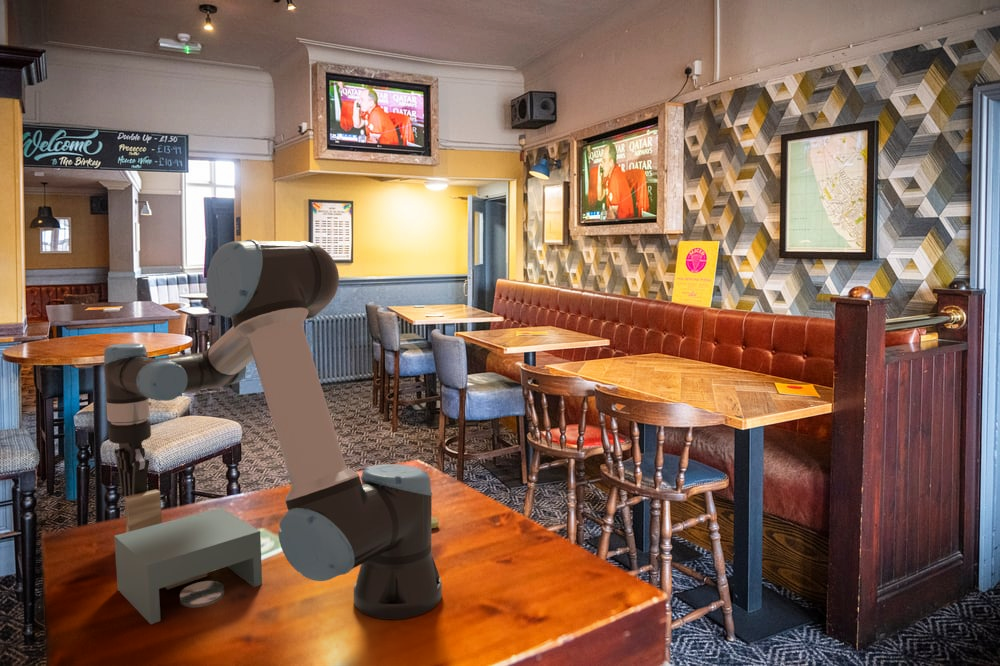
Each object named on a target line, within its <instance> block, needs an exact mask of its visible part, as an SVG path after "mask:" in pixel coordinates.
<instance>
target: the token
mask: <svg viewBox="0 0 1000 666" xmlns="http://www.w3.org/2000/svg"><path fill="white" fill-rule="evenodd" d="M224 596H225V586H224V584H223V583H222V582H220V581H217V580H216V581H215V580H205V581H200V582H194V583H192V584H190V585H188V586H186V587H183V588H182V590H181V591H180V594H179V601H180V605H182V606H183V607H186V608H203V607H208V606H211V605H214V604H216V603H217V602H219V601H221V600H222V599H223V597H224Z"/></svg>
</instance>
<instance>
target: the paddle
mask: <svg viewBox="0 0 1000 666" xmlns="http://www.w3.org/2000/svg"><path fill="white" fill-rule="evenodd" d="M123 497H124V496H123ZM124 499H125V500H124V511H125V524H126V525H125V527H126V531H125V532H130V531H134V530H137V529H141V528H145V527H149V526H153V525H156V524H160V523H163V522H162V520H163V519H162V518H163V517H162V504H161V502H162V500H161V491H160V490H158V489H156V488H155V489H151V490H147V492H143V493H138V494H134V495H130V496H125V497H124ZM206 577H208V573H205V574H202V575H199V576H196V577H193V578H190V579H187V580H184V581H181V582H178V583H175V584H172V585H169V586H166V587H164V588H165V589H166V590H170V589H174V588H176V587H179V586H183V585H185V584H188V583H191V582H194V581H197V580H200V579H203V578H206Z"/></svg>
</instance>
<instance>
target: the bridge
mask: <svg viewBox="0 0 1000 666" xmlns="http://www.w3.org/2000/svg"><path fill="white" fill-rule="evenodd" d="M113 537H114V551H115V552H114V554H115V568H116V569H115V570H116V581H117V582H116V584H117V591H118V592H119V591H120V592H119V593H121V595H122V596H123V597H124V598H125V599H126V600H127V601H128V602H129V603H130V604H131V606H133V608H135V610H136V611H137V612H138V613H139V614H140V615H141V616H142V617H143V619H145V620H146V621H147V623H149V624H150V625H153V624H157V623H158V622H161V606H160V589H162V588H165V587H166V586H169V585H172V584H175V583H178V582H181V581H184V580H187V579H190V578H193V577H196V576H199V575H202V574H205V573H207V574H208V573H211V572H213V571H217V570H221V569H223V568H228V569H229V570H231V571H232V572H234V574H236V575H237V576H238V577H240V578H242V579H243V580H244V581H246V582H247V583H248V584H249V585H251V586H252V587H253V588H256V587H258V586H259V587H260V586H261V585H263V573H262V572H263V571H262V570H263V569H262V545H261V544H262V542H261V541H262V540H261V531H260V530H259V529H257V528H256V527H254V526H252V525H251V524H249V523H248V522H246V521H244V520H243V519H242V518H240V517H238V516H236V515H235V514H233V513H232V512H229V510H227V509H225V508H223V507H217V508H214V509H210V510H206V511H202V512H201V511H200V512H198V513H194V514H191V515H187V516H183V517H178V518H175V519H173V520H169V521H164V522H162V523H160V524H156V525H153V526H149V527H145V528H141V529H137V530H134V531H130V532H127V531H125V532H123V533H119V534H115V535H113Z"/></svg>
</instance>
